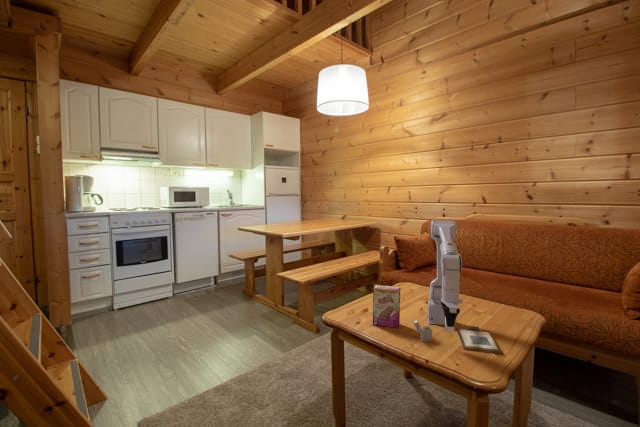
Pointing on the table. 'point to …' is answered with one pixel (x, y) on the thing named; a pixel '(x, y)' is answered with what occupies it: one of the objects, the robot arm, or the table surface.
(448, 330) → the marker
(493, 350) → the picture frame
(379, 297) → the candy bar box
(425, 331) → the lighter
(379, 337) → the table surface
